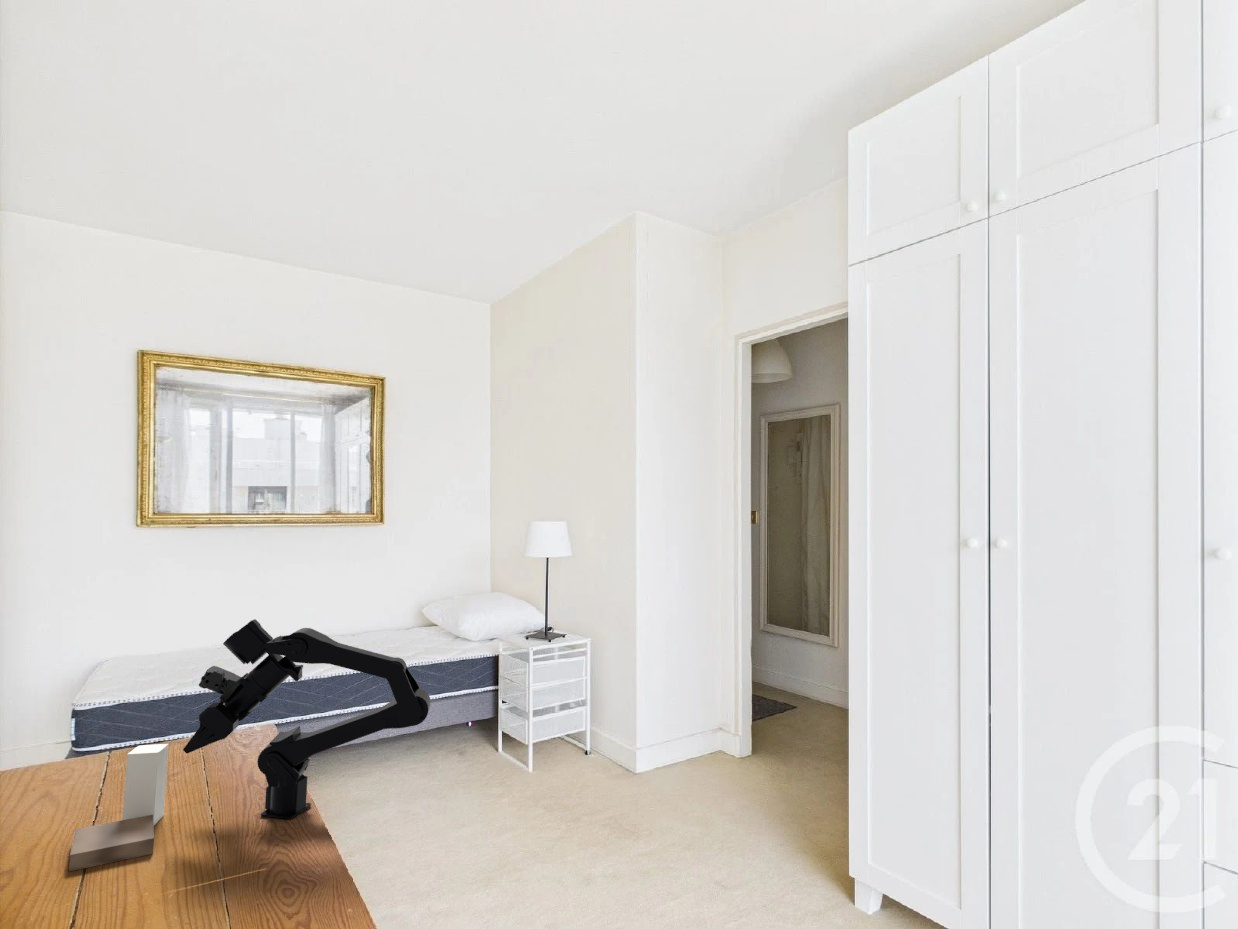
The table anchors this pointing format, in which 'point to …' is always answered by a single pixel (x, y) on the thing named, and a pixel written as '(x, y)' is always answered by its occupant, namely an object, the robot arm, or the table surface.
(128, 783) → the cream block
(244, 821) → the table surface
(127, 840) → the walnut plinth
